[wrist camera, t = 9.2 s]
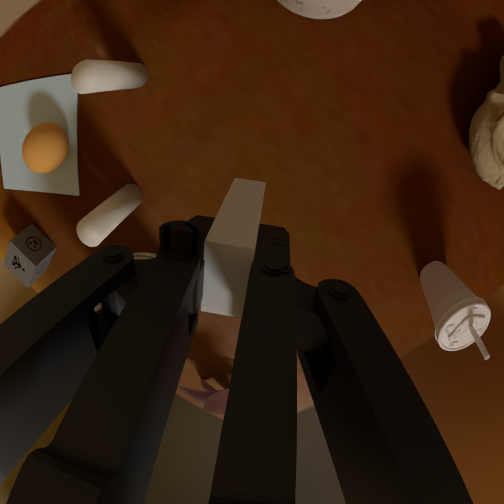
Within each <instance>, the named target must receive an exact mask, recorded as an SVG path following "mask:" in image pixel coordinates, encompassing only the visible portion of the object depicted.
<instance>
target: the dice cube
mask: <svg viewBox="0 0 504 504" xmlns="http://www.w3.org/2000/svg"><path fill="white" fill-rule="evenodd" d="M55 250H56V246H55V245H54V244H53V243H52V242H51V241H50V240H49V239H48V238H47V237H46V236H45V235H44V234H43V233H42V232H41V231H39V230H38V229H37V228H36V227H35V226H34V225H33V224H31V225H30V226H28V227H27V228H26V229H24V230H23V231H22V232H20V233H19V234H18V235H17V236H15V237H14V238H13V239H12V240H10V243H9V246H8V250H7V254H6V258H5V262H4V265H5V266H6V267H7V268H8V269H9V270H10V271H11V272H12V273H13V274H14V275H15V276H16V277H17V278H18V279H19V280H20V281H22V283H24V284H25V285H26V286H27V287H28V288H29V287H30V286H31V285H32V283H33V282H34V281H35V280H36V279H37V278H38V277H39V276H40V275H41V274H42V273H43V272H44V271H45V270H46V269H47V268H48V265H49V263H50V261H51V258H52V256H53V254H54V252H55Z"/></svg>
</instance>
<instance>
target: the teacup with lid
mask: <svg viewBox="0 0 504 504" xmlns="http://www.w3.org/2000/svg"><path fill="white" fill-rule="evenodd" d="M277 1H278V2H279V3H280V4H282V5H283V6H284V7H285V8H287V9H288V10H290V11H292V12H294V13H296V14H299V15H301V16H304V17H309V18H314V19H330V18H335V17H339V16H342V15H344V14H346V13H348V12H350V11H351V10H352V9H354V8H355V7H356V6H357V5H358V4H359V3H360V2H361V1H362V0H277Z"/></svg>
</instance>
